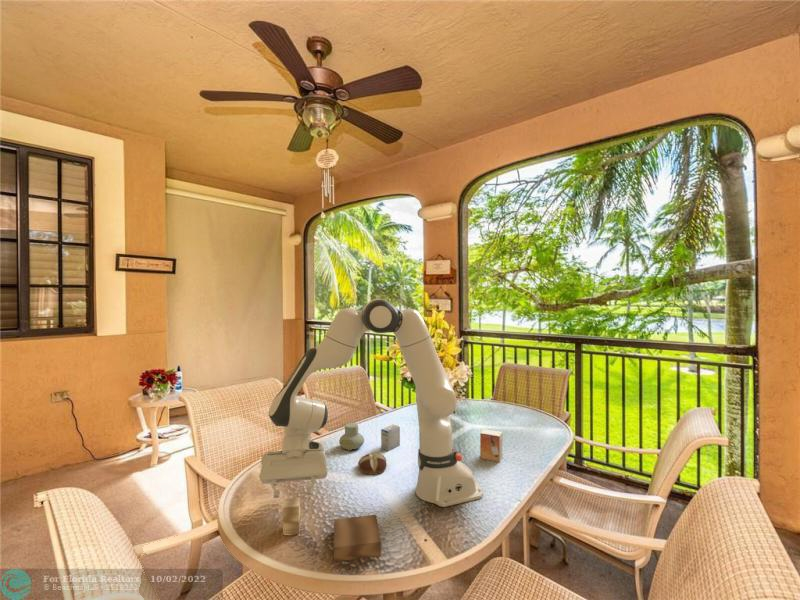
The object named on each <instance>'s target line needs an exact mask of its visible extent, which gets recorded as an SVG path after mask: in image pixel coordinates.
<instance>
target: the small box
mask: <svg viewBox="0 0 800 600" xmlns="http://www.w3.org/2000/svg"><path fill="white" fill-rule="evenodd" d="M479 439H480V440H479V441H480V442H479V444H480V445H479V446H480V447H479V451H480V453H479V454H480V456H479V458H480V459H482V460H486V461H487V460H488V461H491V462H497V463H500V462H501V460H502V458H503V449H504V448H503V443H504V442H503V432H502V431H497V430H490V429H485V428H483V430H481V432H480V437H479Z"/></svg>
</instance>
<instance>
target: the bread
mask: <svg viewBox="0 0 800 600" xmlns="http://www.w3.org/2000/svg"><path fill="white" fill-rule="evenodd" d="M357 463H358V464H357V465H358V469H359V470H360V472H361V473H363V474H365V473H367V474H366V475H370V473H372V474H374V473H377V474H381V473H384V472H385V470H386V469H387V465H388V464H387V459H386V456H385V455H384V454H382V453H379V452H374V453H373V454H370V453H367V454H365V455H363V456H362V457H360V459H358V462H357Z"/></svg>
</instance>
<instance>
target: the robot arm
mask: <svg viewBox="0 0 800 600" xmlns="http://www.w3.org/2000/svg"><path fill="white" fill-rule="evenodd" d="M369 331H370V332H373V333H376V334H387V333H393V334H394V336H395V338H396V340H397V342H398V346H399V349H400V351H401V353H402V357H403V359H404V362H405V364H406V366H407V369H408V372H409V374H410V376H411V378H412V379H411V380H412V381H413V383H414V386H415V395H416V398H415V399H416V408H417V417H418V419H417V420H418V432H419V435H418V436H419V438H418V439H419V445H418V446H419V448H418V451H417V452H418V453H417V464H418V476H417V483H416V487H415V489H414V491H415V492H414V493H415V494H416V496H417V497H418V498H419V499H421V500H422V501H426V502H428V503H432V504H434V505H436V506H439V507H442V508H447V507H449V506H454V505H458V504H463V503H466V502H471V501H474V500H478V499H481V498H483V489H482V486H481V485H480V484H479V482H478V481H477V480H476V479H475V476H474V473H473V472H472V470H471V469H470V467H469V466H468V465H466V464H464V463H463V462H462V461H463V456H462V455H461V453H460V452H458V451H457V450H456V449H455V448H454V447H453V430H452V429H453V427H452V424H451V417H450V415H452V414H453V413H454V411H455V410H456V409H457V404H458V400H457V395H456V392H455V390H454V388H453V385H452V384H451V381H450V379H449V376H448V374H447V372H446V370H445V368H444V366H443V363H442V362H441V361H442V360H441V359H440V358H439V357H440V356H439V354H438V353H437V350H436V347H435V344H434V342H433V338H432V336H431V334H430V331H429V329H428V326H427V324H426V323H425V321H424V319H423V317H422V315H421V314H420V312H419V310H417V309H415V308H405V309H398V308H397V307H396V306H395V305H394V304H393V303H392V302H390V301H388V300H386V299H384V298H375V299H372V300H369V301H368V302H367V303H366V304H365V305H363V306H362V307H361V308H360V309H358V310H357V309H353V308H349V307H347V308H342V309H340V310H338V312H337V313H336V315H335V316H334V318H333V320H332V321H331V323H330V325H329V327H328V329H327V331H326V333H325V335H324V337H323V339H322V340H321V342H320V343H319V344H317V345H316V346H314V347H312V348H309V349H308V350H307V351H306V352H305V353H304V354H303V356H302V358H301V360H299V362H298V363H297V365H296V366H295V368H294V369H293V372H291V375H290V376H289V377H288V379H287V381H286V382H285V384H284V386H283V387H282V388H281V390H279V392H278V394H276V396H275V397H274V399H273V400H272V402H271V404H270V406H269V411H268V416H269V419H270V421H271V422H272V423H273V424H274V426H276V427H283V430H284V436H283V438H282V444H281V445H282V446H281V447H282V448H281V450H274V451H267V452H266V453H264V454H263V455H262V457H261V461H260V463H261V469H260V472H259V477H258V478H259V481H260V482H261V484H264V485H265V484H270V485H271V488H272V490H273V499H279V498H280V492H281V491H280V489H277V488H276V487H277V486H278V485H277V484H278V483H288V482H290V483H291V482H300V481H310V485H309V486H307V487H306V490H305V491H306V496H309V495H311V496H312V495H313V493H312V492H313V488H314V487H315V485H316V483H317V482H316V481H317V480H322V479H323V480H324V479H326V478H327V476H328V462H327V457H326V454H325V448H324V444H323V443H322V442H318V441H314V440H311V435H312V434H313V433H317V432H318V431H320V430H321V429H322V428H323V427H325V426H326V425H327V422H328V418H329V417H328V416H329V410H328V408H327V405H326V403H325V402H324V401H322V400H321V401H320V400H316V399H314V398H307V397H303V396H299V394H298V393H299V392H300V391H301V389H302V387H303V386H304V384H305V382H306V381H307V379H308V377H309V376H311V375H312V374H313V373H316V372H317V371H321V370H329V369H337V368H340V367H344V366H345V365H347V364H348V363H349V362H350V361H351V360H352V358H353V357H354V355H355V353H356V350H357V349H358V348H357V347H358V345H359V343H360V340H361V339H362V337H363V335H364V334H365V333H366V332H369Z"/></svg>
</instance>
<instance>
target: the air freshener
mask: <svg viewBox="0 0 800 600" xmlns="http://www.w3.org/2000/svg"><path fill="white" fill-rule="evenodd" d="M338 443H339V445H340V447H341V448H343V449H344V450H347V449H349V450H348V451H353V450H352V449H355V450H357V449H359V448H361V447H362V446H363V444H364V443H365V437H364V436H363V435H362V434H361V433H359V425H358V424H357V423H355V422H349V423H346V424H345V425H344V434H342V435H341V436H340V438H339V441H338Z"/></svg>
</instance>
